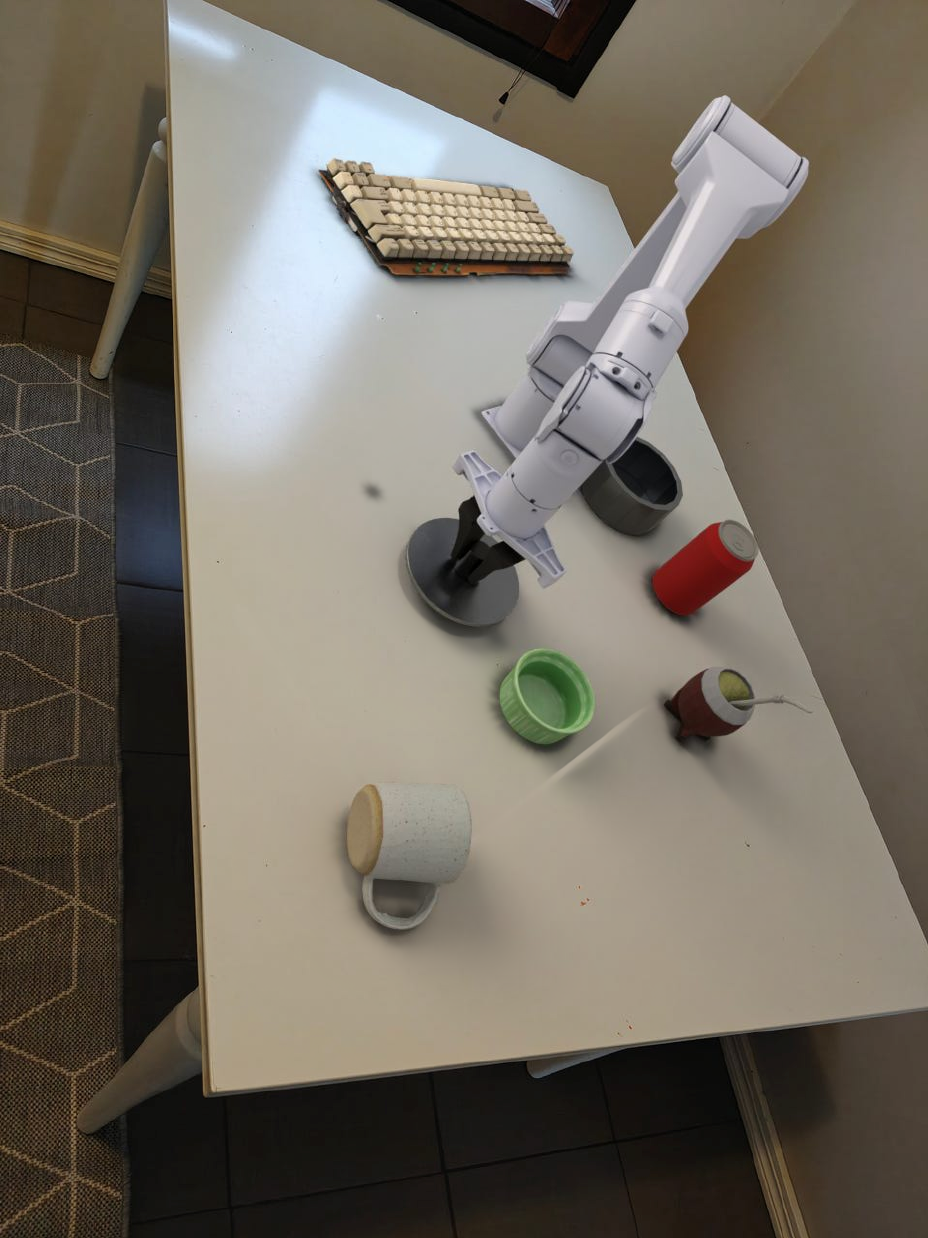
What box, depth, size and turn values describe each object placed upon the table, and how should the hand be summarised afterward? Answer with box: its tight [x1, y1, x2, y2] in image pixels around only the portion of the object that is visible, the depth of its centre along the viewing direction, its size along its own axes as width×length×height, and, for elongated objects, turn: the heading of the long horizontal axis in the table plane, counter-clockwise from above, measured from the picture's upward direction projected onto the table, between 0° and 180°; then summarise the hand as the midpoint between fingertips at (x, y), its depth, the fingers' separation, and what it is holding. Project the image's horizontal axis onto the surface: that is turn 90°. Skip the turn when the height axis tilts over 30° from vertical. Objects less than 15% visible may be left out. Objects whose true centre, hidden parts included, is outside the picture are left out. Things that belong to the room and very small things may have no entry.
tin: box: [580, 436, 684, 536], centre depth 107 cm, size 12×12×5 cm
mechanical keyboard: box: [317, 157, 575, 277], centre depth 121 cm, size 38×19×3 cm, turn 125°
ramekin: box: [499, 647, 596, 745], centre depth 83 cm, size 9×9×4 cm
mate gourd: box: [663, 666, 814, 743], centre depth 88 cm, size 8×8×15 cm
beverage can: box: [652, 519, 759, 616], centre depth 99 cm, size 7×7×12 cm
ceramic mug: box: [346, 781, 473, 931], centre depth 66 cm, size 11×8×8 cm
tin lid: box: [405, 517, 520, 628], centre depth 84 cm, size 13×13×5 cm
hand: (467, 566), depth 85 cm, fingers closed on tin lid, 2 cm apart
